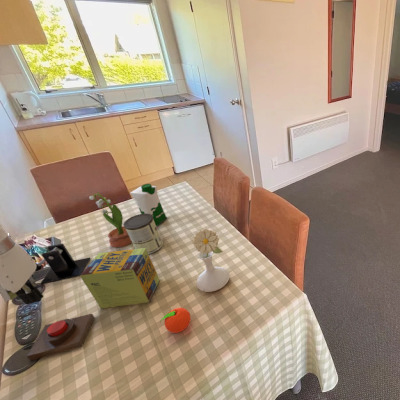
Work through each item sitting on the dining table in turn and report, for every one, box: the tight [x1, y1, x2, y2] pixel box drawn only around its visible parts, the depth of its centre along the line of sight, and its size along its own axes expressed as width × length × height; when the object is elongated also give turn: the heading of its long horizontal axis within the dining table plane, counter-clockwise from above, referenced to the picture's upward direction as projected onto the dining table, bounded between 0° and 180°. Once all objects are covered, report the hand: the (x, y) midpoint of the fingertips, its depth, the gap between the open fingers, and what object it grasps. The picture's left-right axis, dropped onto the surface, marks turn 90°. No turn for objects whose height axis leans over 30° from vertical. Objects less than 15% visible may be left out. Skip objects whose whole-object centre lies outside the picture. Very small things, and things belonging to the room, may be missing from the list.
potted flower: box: [89, 191, 133, 248], centre depth 112 cm, size 12×10×25 cm
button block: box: [26, 313, 96, 361], centre depth 78 cm, size 12×10×4 cm
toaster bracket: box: [40, 243, 91, 285], centre depth 99 cm, size 12×10×12 cm
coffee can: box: [122, 213, 164, 255], centre depth 111 cm, size 10×10×14 cm
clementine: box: [159, 307, 191, 334], centre depth 80 cm, size 8×7×7 cm
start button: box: [47, 320, 68, 337], centre depth 77 cm, size 4×4×2 cm
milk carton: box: [129, 183, 168, 227], centre depth 127 cm, size 9×9×20 cm
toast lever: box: [35, 247, 63, 272], centre depth 97 cm, size 12×3×3 cm
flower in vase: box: [192, 228, 231, 293], centre depth 91 cm, size 13×11×25 cm
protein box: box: [79, 248, 161, 309], centre depth 89 cm, size 10×15×16 cm
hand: (35, 300), depth 71 cm, fingers closed
